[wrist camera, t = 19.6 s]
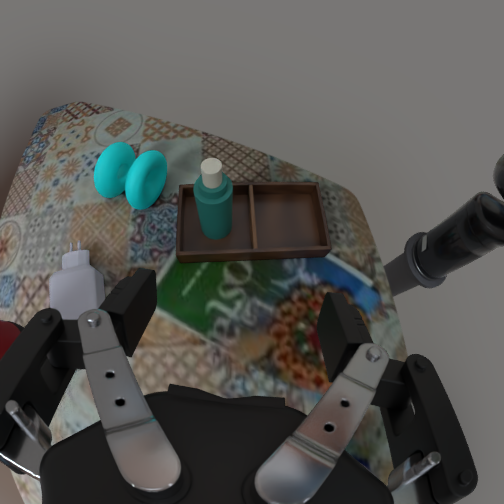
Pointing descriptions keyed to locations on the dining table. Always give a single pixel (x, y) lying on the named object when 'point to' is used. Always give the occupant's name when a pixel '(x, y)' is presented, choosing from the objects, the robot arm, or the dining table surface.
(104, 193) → the donuts
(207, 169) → the bottle
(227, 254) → the tray
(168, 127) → the dining table surface
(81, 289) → the charger
